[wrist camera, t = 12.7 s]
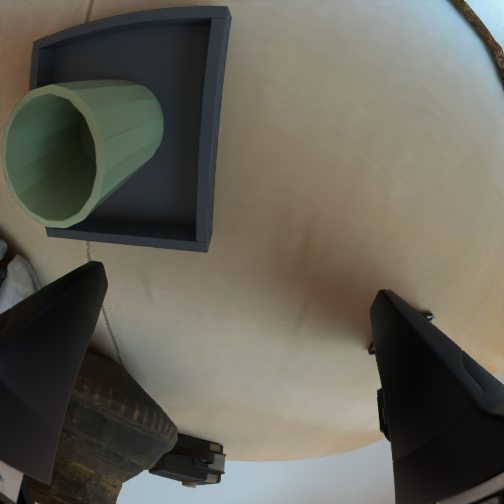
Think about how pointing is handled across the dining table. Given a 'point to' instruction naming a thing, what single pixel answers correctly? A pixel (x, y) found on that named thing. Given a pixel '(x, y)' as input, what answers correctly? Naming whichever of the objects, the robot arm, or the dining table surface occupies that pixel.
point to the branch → (482, 32)
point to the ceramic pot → (104, 437)
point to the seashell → (17, 283)
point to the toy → (0, 252)
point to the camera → (192, 462)
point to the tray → (174, 112)
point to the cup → (78, 146)
